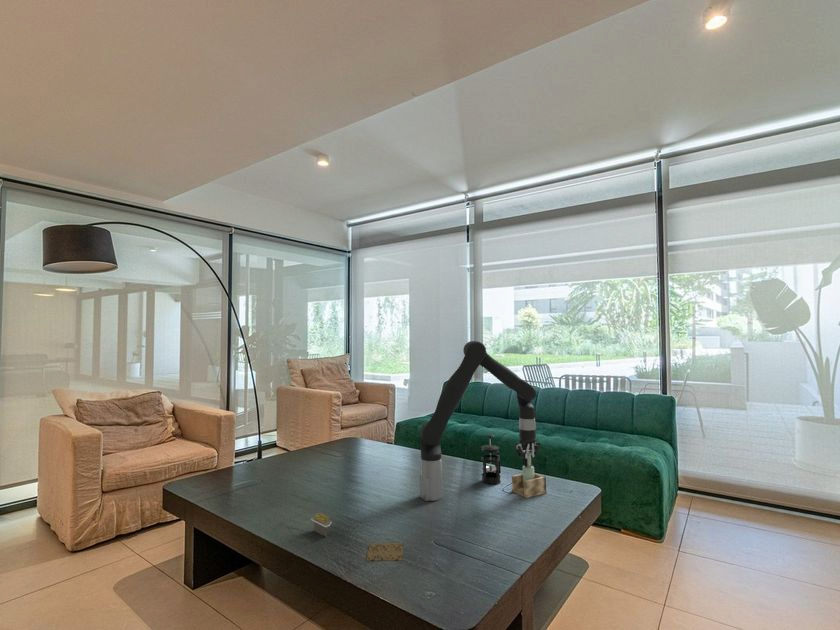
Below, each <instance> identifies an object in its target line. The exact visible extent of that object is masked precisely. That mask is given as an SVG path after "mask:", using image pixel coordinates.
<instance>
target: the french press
mask: <svg viewBox="0 0 840 630" xmlns="http://www.w3.org/2000/svg"><path fill="white" fill-rule="evenodd" d="M485 436H486V437H487V438H488V439H489V444H484V445H482V446H481V447H480V448H481V451H482V452H483V451H487V452H488V453H489V454H483V455H482V456H481V461H482V468H481V469H482V473H481V482H482V484H485V485H487V486H488V485H489V486H497V485H499V484H501V483H502V481H501V467H502V466H501V455H498V453H500V452H499V449H500V446H498V445H494V444H491V439H492V438H493V437H495V434H492V433H489V434H485ZM487 458H489V459H487ZM492 458H493V459H492ZM487 463H490V464H489V465H487ZM492 463H494V465H492Z"/></svg>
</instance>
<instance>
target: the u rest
mask: <svg viewBox="0 0 840 630" xmlns="http://www.w3.org/2000/svg"><path fill="white" fill-rule="evenodd" d="M511 492H514V493H516V494H517V495H520V496H522V497H524V498H526V499H528V498H532V497H537V496H540V495H543V494H548V490H547V478H546V476H544V475H541V474H539V473H536V472H534V479H531V480H526V481H524V487H523V473H520V474H514V475H511Z"/></svg>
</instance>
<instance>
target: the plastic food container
mask: <svg viewBox="0 0 840 630" xmlns="http://www.w3.org/2000/svg"><path fill="white" fill-rule="evenodd" d="M310 521H312V522H313V531H314V532H315V533H318V534H319V535H321V536H323V537H326V538H327V537H328V527H330V526H331V524H332V520H330V519H329V516H326V514H325V515H324V514H322V513H321V512H318V513H316V514H315V516H312V517H310Z"/></svg>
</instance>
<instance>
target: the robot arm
mask: <svg viewBox="0 0 840 630" xmlns="http://www.w3.org/2000/svg"><path fill="white" fill-rule="evenodd" d="M462 351H463V355H464V356H463V358H462V361H461V363H460V364H459V367H457V369H456V370H455V372H454V373H453V374H452V375H451V376H450V377H449V378H448V380H447V382H446V383H445V385H444V387H443V389H442V391H441V392H440V395H439V398H438V400H437V405H436V406H435V407H436V408H435V411H433V414H432V416H431V418H429V421H426V422H424V423H423V424H422V425H421V427H420V431H419V432H420V433H419V434H420V437H419V438H420V439H419V441H420V443H419V444H420V466H421V467H420V471H421V474H420V475H419V497H420V498H421V499H422V500H424V501H426V502H428V501H429V502H430V501H433V502H434V501H435V502H436V501H440V500H441V499H442V498H443V479H442V478H443V475H442V474H443V471H442V469H443V468H442V466H443V465H442V464H443V462H442V448H441V447H442V446H441V439H442V437H443V435H444V432H445V430H446V428H447V425H448V422H449V420H450V418H451V417H452V415H453V414H454V412H455V410H456V409H457V407H458V406H459V404H460V403H461V400H462V398H463V397H464V395H465V392H466V391H467V388H468V386H469V385H470V382H471V380H472V378H473V376H474V374H475V372H476V370H477V369H478V368H479V366H481V367H482V368H483V369H484V370H487V371H488V372H489V373H490V374H491V375H492V376H494V377H495V378H496V379H497V380H498V381H499V382H501V383H502V384H503V385H504V386H506V387H507V388H508V389H510V390H513V391H514V392H515V393H516V399H517V402H518V408H519V409H518V410H519V413H518V415H519V416H518V417H519V419H518V420H519V421H518V427H519V428H518V433H519V435H518V437H519V443H518V445H517V444H516V445H515V446H514V448H515V451H516V453H517V455H518V457H519V458H521V459H522V467H523V466H525V467H527V466H528V460H527V455H528V453H529V452H531V453H532V455H531V466H534V463H535V462H534V458H535V456H538V453H539V451H540V450H539V449H540V446H541V443H540V442H538V441H536V439H537V426H536V425H537V424H536V411H535V410H536V409H535V406H534V405H533V404H532V401H534V400H535V399H536V397H537V390H536V388H535V387H534V386H533V385H531V384H530V383H529V382H527V381H525V380H524V379H522V378H521V377H520V376H518V375H517V373H515V372H513V371H512V370H511V369H510V368H509V367H508V366H505V365H504V364H502V363H501V362H499V361H498V360H497V359H495V358H493V357H492V356H491V355H490V354H488V352H487V347H486V346H485V344H484V343H483V342H480V341H477V340H471V341H468V342H466V343H465V345H464V346H463V350H462ZM524 453H525V455H524Z"/></svg>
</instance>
